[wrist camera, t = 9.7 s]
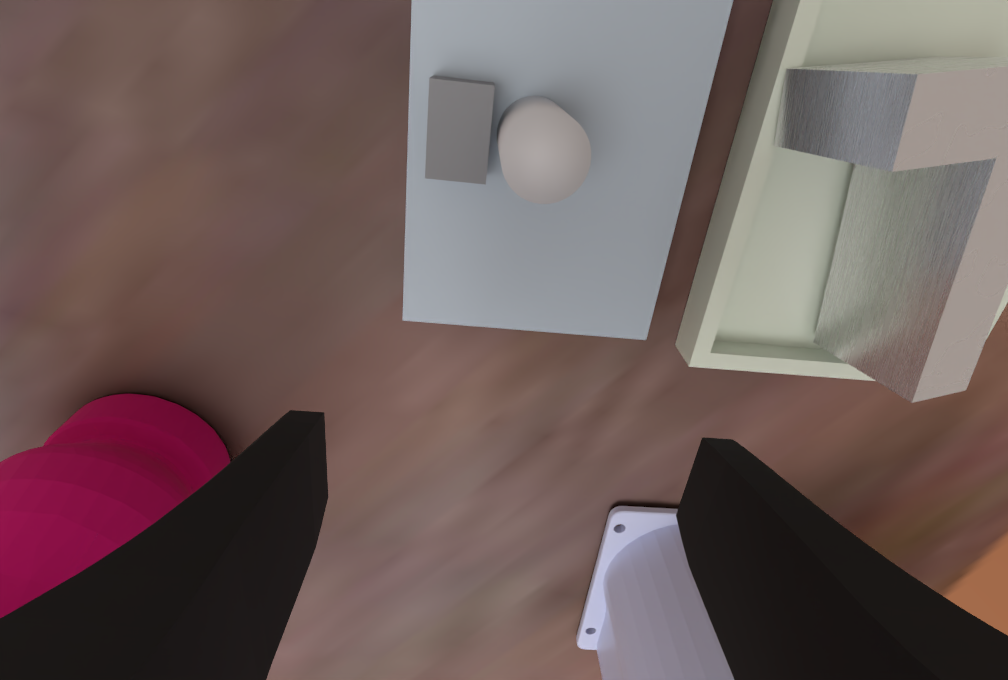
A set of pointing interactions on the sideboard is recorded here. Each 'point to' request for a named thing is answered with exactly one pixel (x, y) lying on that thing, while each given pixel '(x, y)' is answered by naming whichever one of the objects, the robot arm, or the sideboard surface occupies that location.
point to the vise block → (551, 157)
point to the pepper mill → (97, 488)
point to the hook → (910, 211)
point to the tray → (803, 183)
